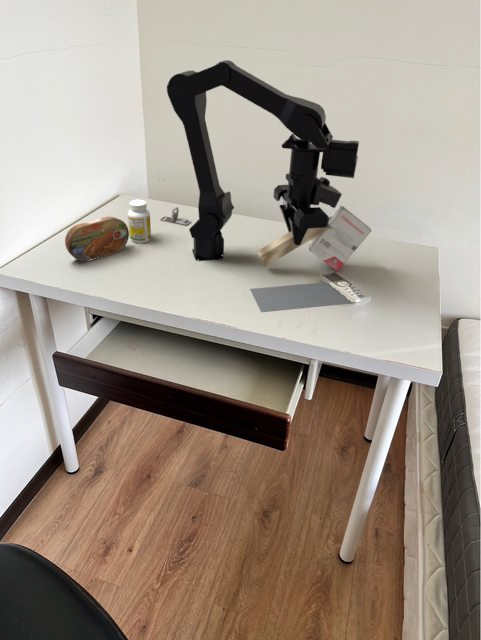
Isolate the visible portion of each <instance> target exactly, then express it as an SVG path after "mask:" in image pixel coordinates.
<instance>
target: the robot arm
mask: <svg viewBox="0 0 481 640" xmlns="http://www.w3.org/2000/svg"><path fill="white" fill-rule="evenodd" d="M218 87H224V88H226V89H228V90H229V91H230V92H231V91H232V92H233V93H234V94H237V95H238V96H239V97H242V98H244V100H247V101H249V102H250V103H252V104H254V105H256V107H257V106H258V107H259V108H261V109H263V110H265V111H266V112H268V113H270V114H272V115H273V116H274V117H276V118H277V119H278V120H279V122H281V124H283V126H284V127H285V128H286V129H288V131H289V132H291V135H290V136H289V137H288V138H287V139H286V140H284V141H283V143H282V144H281V148H282V149H287V150H290V151H291V153H290V161H289V173H285V180H286V181H287V184H278V185H277V186H276V187H275V188H273V198H274V200H276V201H277V202H280V201H281V199H282V200H283V203H282V204H279V205H278V206H279V207H278V208H279V209H280V211H281V215H282V217H283V220H284V223H285V225H286V226H285V227H286V228H287V233H289V232H290V231H292V235H293V239H294V243H295V245H300V244H301V242H302V240H303V238H304V236H305V234H306V231H307V230H308V229H309V228H325V227H328V223H329V218H330V216H329V215H328V214H327V213H326V212H325V211H324V210H323V209H322V208H321V207H320V203H322V204H325V205H327V206H330V208H333V209H335V208H336V207H337V205H338V204H339V201H340V199H341V197H342V195H343V194H342V192H340V191H339V190H338V189H337V188H336V187H334V186H332V185H331V182H330V180H329V179H328V178H326V177H324V176H321V177H318V172H319V171H318V170H319V165H320V164H319V163H320V158H321V157H320V156H321V155H320V154H321V153H322V158H321V165H320V169H321V170H322V173H325V176H332V177H339V178H349V179H355V174H356V169H357V164H358V158H359V156H358V151H359V145H360V141H358V140H337V139H334V137H333V134H332V132H331V131H330V129H329V127H328V125H327V123H326V117H327V115H326V113H325V110H324V108H323V106H321V105H320V104H319V103H316V102H314V101H311V100H307V99H305V98H301V97H298V96H292V95H289V94H286V93H285V92H283V91H281V90H279V89H278V88H276V87H274V86H272V85H270V84H269V83H267V82H265V81H263V80H262V79H260V78H259V77H257V76H255V75H254V74H251V73H249V72H248V71H246V70H245V69H243V68H241V67H239V66H237V64H235V63H234V62H233V61H231V60H228V59H227V60H225V59H224V60H222V61H219V62H217V63H215V64H214V65H213V66H211V67H207V68H206V69H203V70H200V71H195V70H187V71H183V72H180V73H177V74H174V75H172V76H171V77H170V79H169V80H168V83H167V85H166V93H167V96H168V99H169V101H170V104H171V106H172V109H173V111H174V112H175V114H176V116H177V117H178V118H179V120H180V122H181V123H182V125H183V128H184V132H185V137H186V141H187V145H188V148H189V153H190V157H191V160H192V161H191V162H192V166H193V169H194V170H193V171H194V174H195V178H196V182H197V185H198V186H197V187H198V190H199V196H198V204H197V205H198V207H197V208H198V219H197V220H196V221H195V222H194V224H192V226H191V227H190V228H189V234H190V236H191V238H192V239H193V248H192V251H191V252H192V254H193V258H194V259H195V261H196V262H207V261H216V260H217V261H220V260H224V255H225V251H224V250H225V248H224V247H225V239H224V237H223V233H222V229H223V227H225V226H226V224H227V223H228V222H229V220H230V219H231V218H232V215H233V210H234V209H235V206H234V205H233V203H232V194H231V191H226V192H225V191H224V190H223V188H222V187H221V185H220V181H219V177H218V173H217V168H216V163H215V158H214V154H213V150H212V145H211V140H210V136H209V135H210V134H209V130H208V127H207V122H206V110H207V92H208V91H211V90H213V89H216V88H218ZM311 206H317V207H311Z"/></svg>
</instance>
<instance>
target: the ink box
mask: <svg viewBox="0 0 481 640" xmlns="http://www.w3.org/2000/svg"><path fill="white" fill-rule="evenodd" d="M370 233H372V228H371V227H370V226H369V225H368V224H366V223H365V222H364V221H362V219H360V218H359V217H357V216H356V215H355V214H354V213H353V212H352V211H350V210H349V209H348V208H347V207H345V206H344V205H342V204H339V205H338V207H337V208H336V209H335V210H334V211H333V213H332V214H331V215H330V216H329V223H328V230H327V231H325V232H323V233H321V234H320V235H318V236H316V237H315V238H313V239H311V240H310V241H308V244H307V247H308V251H309V252H311V253H312V254H313V255H315V256H316V257H317V258H318V259H320V260H321V261H323V262H324V263H325V264H327V265H328V266H329V267H331V268H332V269H333V270H335V271H336V272H338V271H340V269H341V268H342V267H343V265H345V263H346V262H347V261H348V260H349V259H350V257H351V256H352V255H353V254H354V253H355V252H356V251H357V249H358V248H359V247H360V245H361V244H362V243H363V242H364V241H365V240H366V238H367V237H368V236H369V235H370Z"/></svg>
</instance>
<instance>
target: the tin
mask: <svg viewBox="0 0 481 640" xmlns="http://www.w3.org/2000/svg"><path fill="white" fill-rule="evenodd" d="M129 239H130V233H129V226H128V225H127V223H125V221H124V220H122V219H120V218H117V217H115V216H105V217H101V218H97V219H93V220H90V221H86V222H82V223H78V224H76V225H74V226H72V227H71V228H70V229H69V230H68V231H67V232H66V235H65V238H64V244H65V248H66V250H67V252H68V253H69V254H70V255H71V256H72V257H73V258H74V259H75V260H77V261H80V262H88V261H87V260H90V259H93V260H95V259H94V258H96V259H98V258H97V257H99V258H101V256H102V257H105V255H106V256H108V255H109V256H110V255H111V254H115V252H116V253H119V252H120V251H122V250H123V248H125V247H126V245H127V244H128V242H129ZM90 261H91V260H90Z"/></svg>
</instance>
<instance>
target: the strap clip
mask: <svg viewBox="0 0 481 640" xmlns="http://www.w3.org/2000/svg"><path fill="white" fill-rule="evenodd" d="M179 211H180V210H179V207H178V206H175V207H173V208H172V212H171V217H170V216H164V217H162V218H160V219H159V220H160V221H161V222H165V223H174V224H176V225H179V226H184V227H187V226H189V225H190V224H192V221H191V220H190V219H186V218H179Z"/></svg>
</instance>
